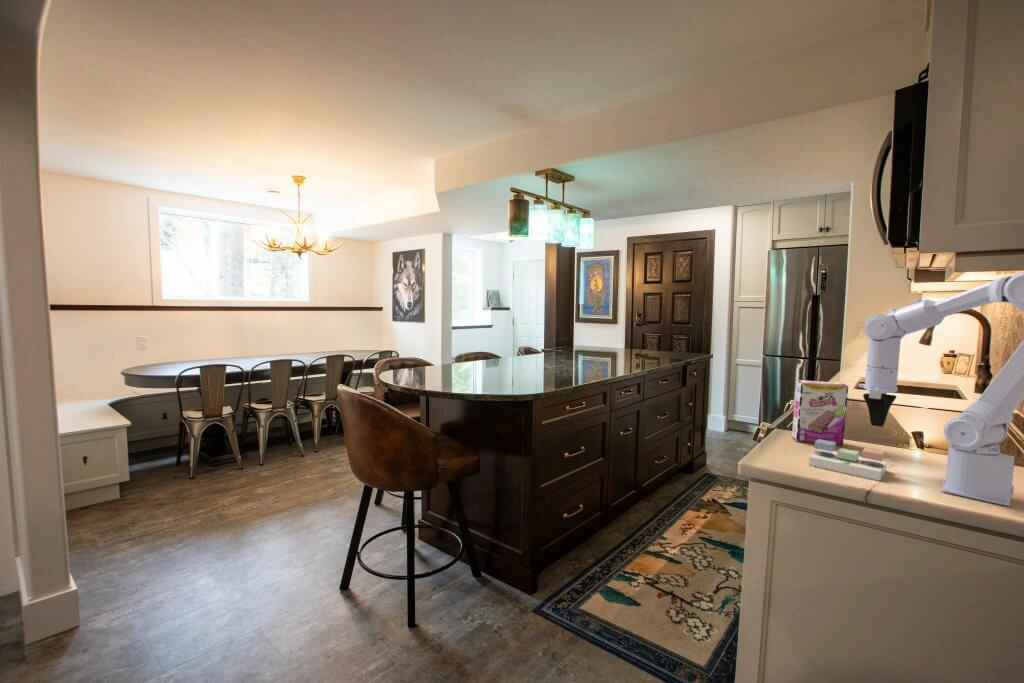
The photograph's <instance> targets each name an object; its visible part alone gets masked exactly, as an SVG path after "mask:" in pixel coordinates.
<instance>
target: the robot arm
mask: <svg viewBox="0 0 1024 683" xmlns="http://www.w3.org/2000/svg"><path fill="white" fill-rule="evenodd" d="M911 303H912V304H910V305H906V306H904V307H901V308H898V309H896V308H892V309H889V310H888V313H887V314H884V313H883V314H882V313H875V314H873V315H872V316H870V317H869V318H868V319H866V321H865V322H864V324H863V331H864V333H865V335H866V336H867V337H868V344H867V355H866V367H865V370H866V371H865V378H864V379H865V382H864V383H858V388H863V389H865V390H867V392H869V393H867V392H866V393H864V394H863V395H862V396H863V400H864V402H865V403H866V405H867V406H866V407H867V409H868V414H869V420H870V421H869V422H870V425H871V426H874V427H875V426H876V427H881V428H882V427H884V426H885V423H886V421H887V417H888V414H889V411H890V408H891V407H892V404H893V403H894V402H895V400H896V399H897V395H894V394H891V393H897V392H898V389H899V388H898V377H899V376H898V375H899V361H900V351H901V350H900V349H901V341H902V338H904V337H905V336H906V335H909V334H912V333H916V332H919V331H923V330H925V329H929V328H931V327H932V328H933V327H935V326H938V325H940V324H941V323H942V322H943V320H944V319H945V318H946V317H947V316H950V315H954V314H957V313H960V312H963V311H968V310H970V309H971V310H972V309H975V308H977V307H981V306H985V305H989V304H992V303H1010V304H1011V305H1013V306H1014V307H1015V308H1016V309H1018V310H1019V311H1020V312H1022V314H1024V271H1021V272H1018V273H1016V274H1014V275H1007V276H1003V277H999V278H997V279H994V280H991V281H989V282H986V283H983V284H980V285H978V286H976V287H972V288H970V289H967V290H965V291H962V292H960V293H958V294H954V295H952V296H949V297H947V298H944V299H941V300H939V301H934V300H931V299H926V298H925V299H924V300H923V299H921V298H920V299H919V298H918V299H915V300H912V301H911ZM1019 344H1020V345H1019V346H1018V347H1017V348H1016V349H1015V351H1014V352H1013V354H1012V355H1011V356H1010V357H1009V358H1008V360H1007V361H1006V362H1005V364H1004V365H1003V366H1002V368H1001V369H1000V370H999V372H998V373H997V374H996V376H994V377H993V379H992V381H991V382H990V383H989V384H988V385H987V387H986V388H985V389H984V391H983V392H982V394H980V396H979V397H978V399H977V400H975V402H973V403H971V404H970V405H968V406H967V407H966V408H965V409H963V411H962V412H961V414H959V415H957V417H956V416H955V417H953V418H951V419H950V420H948V421H947V422H946V423H945V425H944V426H943V435H944V438H945V439H946V440H947V442H948V450H947V460H946V461H947V462H946V470H945V473H946V474H945V479H943V482H942V485H941V487H940V488H941V490H940V491H941V492H943V493H946V494H952V495H955V496H961V497H965V498H969V499H974V500H979V501H983V502H988V503H993V504H997V505H1001V506H1007V507H1010V506H1011V501H1012V500H1011V499H1012V498H1011V497H1012V496H1013V495H1014V490H1015V485H1014V484H1013V478H1014V469H1015V456H1013V455H1009V454H1005V453H1001V448H1000V446H999V444H1001V443H1003V442H1004V441H1005V440H1006V438H1007V436H1008V429H1009V426H1010V424H1011V423H1012V421H1014V415H1013V413H1014V412H1015V410H1016V409H1017V408H1018V407H1019V405H1021V403H1022V402H1023V401H1024V340H1023V341H1021V343H1019ZM888 393H889V394H888Z"/></svg>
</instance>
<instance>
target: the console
mask: <svg viewBox="0 0 1024 683" xmlns="http://www.w3.org/2000/svg"><path fill="white" fill-rule="evenodd" d="M808 458H809V459H808V466H810V465H811V466H812V467H815V466H816V468H821V469H825V470H829V471H833V472H838V473H843V474H845V475H851V476H856V477H861V478H865V479H870V480H873V481H879V482H880V481H881V479H882V478H883V476H884V475H885V473H886V472H887V465H888V462H887V461H884V460H882V462H881V461H876V460H871V459H866V458H862V456H859V458H858V459H857V461H851V460H846V459H841V458H837V451H835V450H833V451H832V452H831V451H826V450H821V449H817V450H816V451H814V453H812V454H811V455H810V456H809V457H808ZM811 466H810V467H811Z"/></svg>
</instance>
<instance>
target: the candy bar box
mask: <svg viewBox="0 0 1024 683" xmlns="http://www.w3.org/2000/svg"><path fill="white" fill-rule="evenodd" d="M794 392H795V394H794V407H793V408H794V409H793V417H792V428H791V429H792V430H791V437H792V439H793V438H794V441H795V442H797V443H807V442H811V443H810V444H815V441H817V440H818V439H821V440H826V441H832V442H836V446H840V445H844V436H845V426H846V414H847V405H848V404H847V403H848V394H849V385H847V384H844V383H842V382H836V381H835V382H834V381H833V382H832V381H817V380H806V379H805V380H803V379H796V382H795V391H794Z"/></svg>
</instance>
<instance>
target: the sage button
mask: <svg viewBox="0 0 1024 683" xmlns="http://www.w3.org/2000/svg"><path fill="white" fill-rule="evenodd" d="M836 452H837V458H841V459H846V460H851V461H857V459H858V458H859V457H860V451H858V450H853V449H847V448H842V447H841V448H839V449H838V450H837V451H836Z"/></svg>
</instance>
